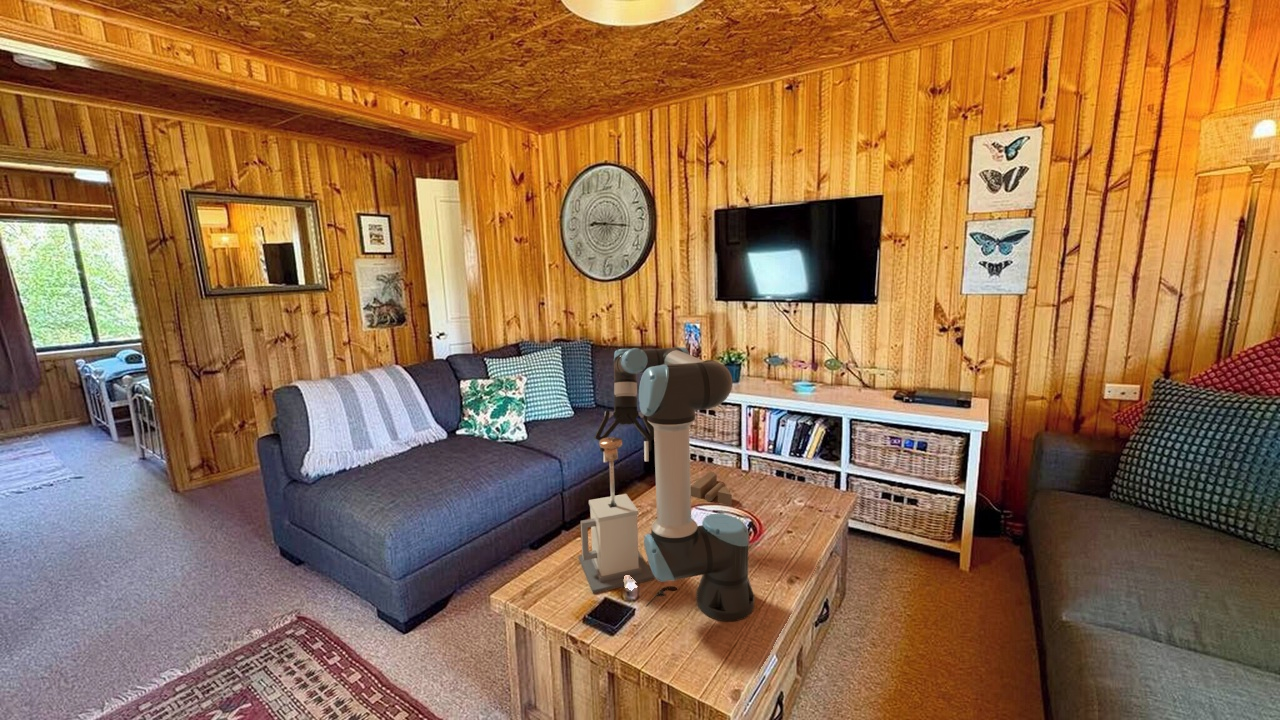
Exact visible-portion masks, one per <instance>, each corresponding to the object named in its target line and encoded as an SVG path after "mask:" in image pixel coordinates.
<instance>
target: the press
mask: <svg viewBox="0 0 1280 720" xmlns="http://www.w3.org/2000/svg"><path fill="white" fill-rule="evenodd" d="M588 505H589V512H590V514H589V515H590V518H589V519H588V518H587V519H583V520H580V534H581V535H580V536H581V555H582V558H583V560H584V561H585V560H590V561H591V563H592V565H593V567H594V570H595V572H596V574H597V576H598V579H599V581H600V582H603V581H608V580H612V579H616V578H621V577H624V576H625V575H634V574H638V573H642V569H641V567H640V565H639V564H638V551H639V535H638V534H639V530H638V515H639V509H638V508H637V507H636V505H635V504H634V503H633V501H632V500H631V498H630V497H629V496H628V494H627V493H622V494H618V495H615V507H612V508H611V495H610V496H605V497H600V498H599V497H598V498H593V499H589V500H588ZM588 528H590V530H591V531H590V533H591V536H590V537H591V550H589V532H588V531H589V530H588Z"/></svg>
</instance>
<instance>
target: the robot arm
mask: <svg viewBox="0 0 1280 720" xmlns="http://www.w3.org/2000/svg"><path fill="white" fill-rule="evenodd" d="M613 367H614V369H613V372H614V374H613V378H614V385H613V386H614V387H613V388H614V389H613V394H614V399H613V406H614V407H613V411H610V410H606V411H604V413H603V414H604V415H603V419H602V421H601V423H600V425H599V427H598V429H597V431H596V433H595V434H594V439H595V440H596V441H600V440H601V439H603V438H608V437H609V436H610V434H611V433H612V432H613V431H614V430H615V429H616V427H618V425H621V426H622V425H623V426H624V425H627V426H628V425H629V426H630V425H633V426H634V427H635V428H636V429H637V431H638V432H639V433H640V434H641V436H642V437H643V438H644V439H645V440H644V441H643V453H644V455H643V457H644V458H643V459H644V462H649V461H650V460H649V458H650V456H649V455H650V454H649V452H651V451H652V441H653V440H654V443H653V445H654V467H655V469H654V470H655V472H654V473H655V499H656V500H655V501H656V519H655V520H654V521H653V522H652V523H651V527H650V531H651V533H647V534H645V535H644V539H643V543H644V549H645V555H646V559H647V562H648V564H649V565H648V566H649V569H650V570H651V572H652V573H653V575H654V579H656V580H657V581H658V582H662V583H664V582H671V581H673V582H675V581H677V580H681V579H687V578H688V579H689V578H693V577H697V576H701V578H700V581H699V584H698V586H697V589H696V597H695V598H696V601H695V602H696V605H697V607H698V609H699V610H700V611H701V612H702V613H703V614H705V615H706V616H707V617H710V618H712V619H714V620H717V621H723V622H725V621H726V622H734V621H740V620H742V619H745V618H747V617H748V616H750V615H751V614H752V612H753V610H754V609H755V594H754V592H753V589H752V588H753V587H752V586H751V582H750V579H749V576H748V575H749V551H750V550H749V547H750V546H749V545H750V539H749V530H748V529H749V528H748V527H747V525H746V524H745V523H744V522H743V521H742V520H741V519H739V518H736V517H735V516H732V515H729V514H724V513H711V514H708V515H706V516H705V517H703V520H702V523H701V524H702V525H698V523H697V522H696V521H695V520H694V519H693V518H692V498H691V497H692V496H691V455H690V451H691V449H690V446H691V445H690V427H691V425H692V424H693V423H694V422H695V421H696V411H703V410H709V409H713V408H716V407H718V406H719V405H721V404H722V403H723V402H724V401H726V400H727V398H728V397H729V396H730V393H731V392H732V388H733V377H732V374H731V371H730V370H729V368H727V367H726V366H725V364H722V363H721V362H719V361H716V360H711V359H706V360H703V359H700V358H698V357H695V356H693V355H691V354H690V352H689V349H687V348H686V347H683V346H682V347H679V346H674V347H666V348H665V347H664V348H649V349H640V348H638V347H633V348H620V349H616V350H615V351H614V354H613ZM638 374H639V375H641V374H642V375H641V378H640V382H639V387H638V383H637V382H638V381H637V375H638ZM637 389H638V390H637ZM637 395H638V397H637ZM638 402H639V404H638ZM638 405H639V406H638ZM638 407H639V410H640V411H638ZM612 416H613V418H614V419H615V420H614V421H613V422H612V424H611V425H610V427H608V429H606V431H605V432H604V433H603V431H604V430H605V428H606V425H607V423H608V421H609V420H610V418H611V417H612ZM638 417H640V419H642V421H643V424H644V426H645V428H646V429H647V430H645V429H644V428H643V427H642V426H643V425H641V423H640V422H639V421H638V419H637V418H638ZM647 432H648V433H647ZM602 433H603V435H602ZM599 448H600V449H599V450H600V452H603V453H602V454H603V456H602V457H603V460H602V461H603V463H608V461H607V460H605V449H604V448H601V447H600V446H599Z"/></svg>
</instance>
